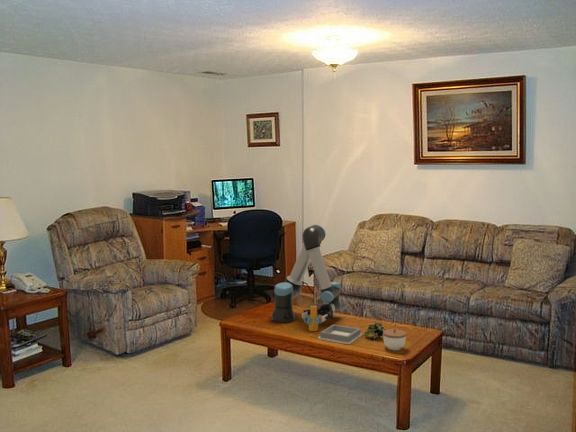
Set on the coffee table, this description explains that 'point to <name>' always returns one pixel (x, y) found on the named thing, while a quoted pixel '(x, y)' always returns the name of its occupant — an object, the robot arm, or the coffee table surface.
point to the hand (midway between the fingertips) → (312, 317)
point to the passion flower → (375, 330)
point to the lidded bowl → (394, 338)
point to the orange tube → (313, 319)
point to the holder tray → (340, 334)
